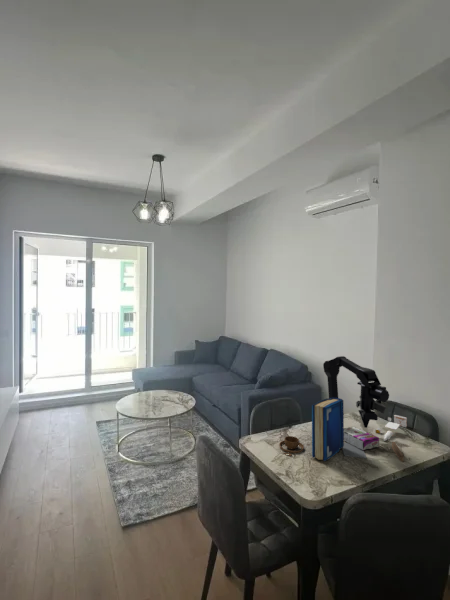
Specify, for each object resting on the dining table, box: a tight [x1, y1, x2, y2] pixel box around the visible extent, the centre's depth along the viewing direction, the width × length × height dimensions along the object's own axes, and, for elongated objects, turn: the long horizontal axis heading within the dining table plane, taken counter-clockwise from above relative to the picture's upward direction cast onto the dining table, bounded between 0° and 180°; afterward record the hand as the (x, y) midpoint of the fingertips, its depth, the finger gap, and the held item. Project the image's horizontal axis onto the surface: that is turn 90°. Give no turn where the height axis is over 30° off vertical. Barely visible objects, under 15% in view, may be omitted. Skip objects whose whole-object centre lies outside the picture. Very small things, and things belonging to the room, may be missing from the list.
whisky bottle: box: [374, 414, 408, 442], centre depth 186 cm, size 10×6×30 cm
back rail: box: [391, 441, 405, 463], centre depth 159 cm, size 1×14×3 cm, turn 168°
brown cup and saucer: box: [278, 435, 311, 457], centre depth 161 cm, size 18×20×6 cm
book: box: [311, 397, 345, 462], centre depth 159 cm, size 22×7×25 cm, turn 137°
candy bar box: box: [344, 426, 380, 451], centre depth 170 cm, size 11×5×16 cm
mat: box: [341, 442, 368, 459], centre depth 162 cm, size 10×14×1 cm
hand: (365, 427), depth 161 cm, fingers closed
